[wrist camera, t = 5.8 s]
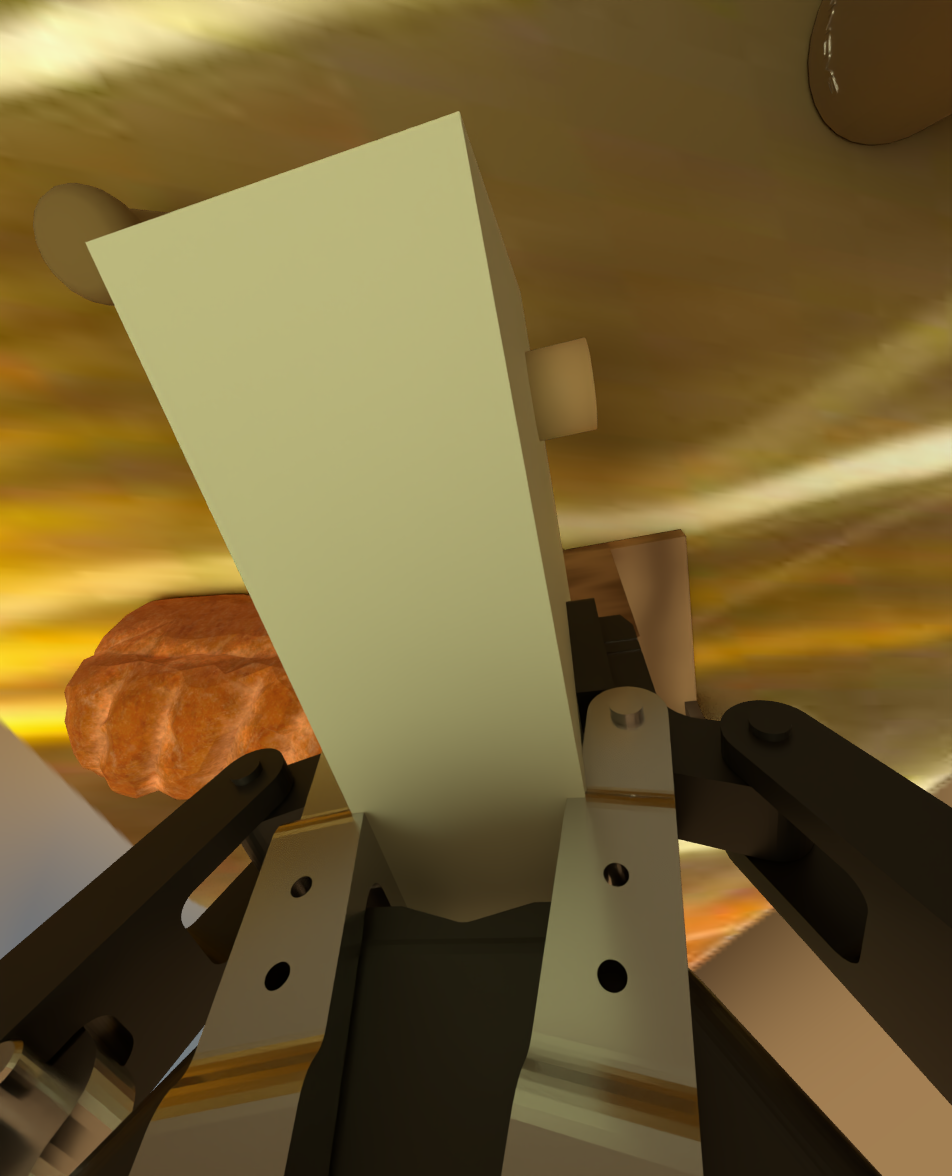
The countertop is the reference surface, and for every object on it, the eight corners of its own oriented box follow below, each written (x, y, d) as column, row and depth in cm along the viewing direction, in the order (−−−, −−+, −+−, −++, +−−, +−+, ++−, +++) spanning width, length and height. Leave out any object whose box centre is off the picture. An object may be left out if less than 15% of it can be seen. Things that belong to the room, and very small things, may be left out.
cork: (219, 200, 32) (80, 140, 22) (261, 304, 35) (152, 290, 25) (143, 234, 33) (-19, 191, 24) (189, 331, 36) (59, 328, 26)
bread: (429, 707, 49) (386, 850, 35) (186, 706, 53) (62, 835, 39) (408, 581, 43) (347, 694, 29) (135, 590, 47) (-32, 694, 33)
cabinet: (680, 529, 38) (749, 621, 26) (694, 727, 47) (751, 869, 34) (462, 568, 42) (430, 665, 29) (511, 746, 50) (502, 880, 38)
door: (558, 282, 15) (648, 43, 3) (613, 691, 22) (712, 1146, 10) (429, 317, 16) (84, 241, 4) (520, 701, 23) (501, 1132, 10)
